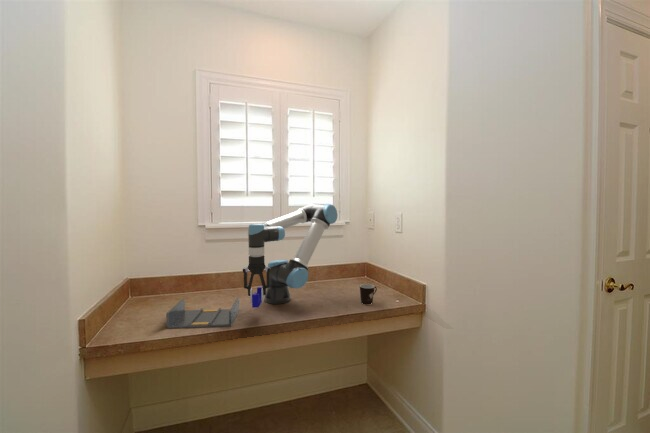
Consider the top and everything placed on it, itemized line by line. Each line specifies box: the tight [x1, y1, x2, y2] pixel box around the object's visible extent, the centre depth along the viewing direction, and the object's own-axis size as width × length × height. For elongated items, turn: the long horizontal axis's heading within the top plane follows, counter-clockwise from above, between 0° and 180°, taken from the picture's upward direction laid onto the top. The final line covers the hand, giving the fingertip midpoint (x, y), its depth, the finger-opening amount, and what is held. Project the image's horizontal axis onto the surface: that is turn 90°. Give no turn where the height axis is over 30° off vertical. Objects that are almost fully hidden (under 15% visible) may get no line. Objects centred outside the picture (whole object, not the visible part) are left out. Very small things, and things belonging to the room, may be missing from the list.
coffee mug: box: [359, 283, 378, 305], centre depth 158 cm, size 12×9×10 cm
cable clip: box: [251, 286, 263, 309], centre depth 135 cm, size 12×4×6 cm, turn 1°
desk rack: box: [165, 297, 240, 329], centre depth 133 cm, size 28×18×7 cm, turn 97°
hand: (257, 301), depth 136 cm, fingers closed on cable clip, 5 cm apart
